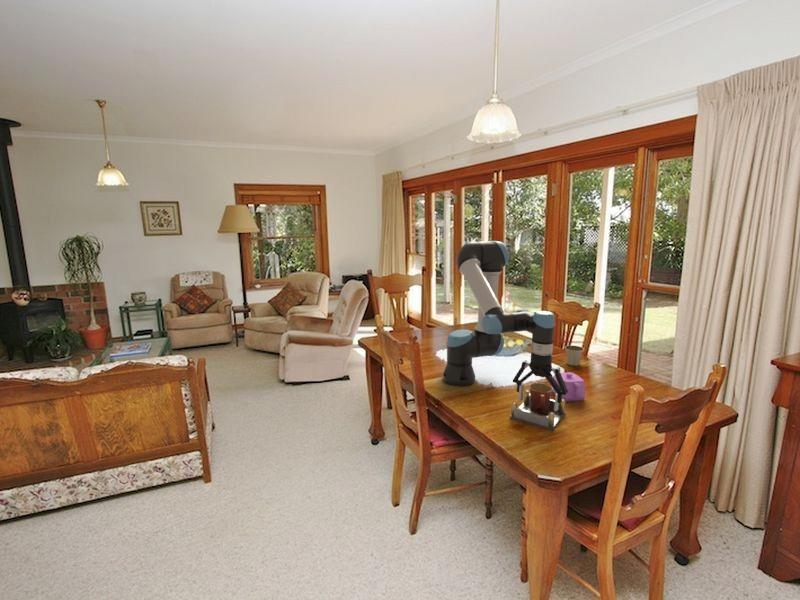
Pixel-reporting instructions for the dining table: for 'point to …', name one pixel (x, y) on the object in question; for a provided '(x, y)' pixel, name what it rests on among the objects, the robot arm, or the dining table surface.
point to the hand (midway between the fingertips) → (537, 405)
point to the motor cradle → (534, 418)
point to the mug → (540, 398)
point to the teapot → (572, 387)
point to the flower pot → (573, 354)
